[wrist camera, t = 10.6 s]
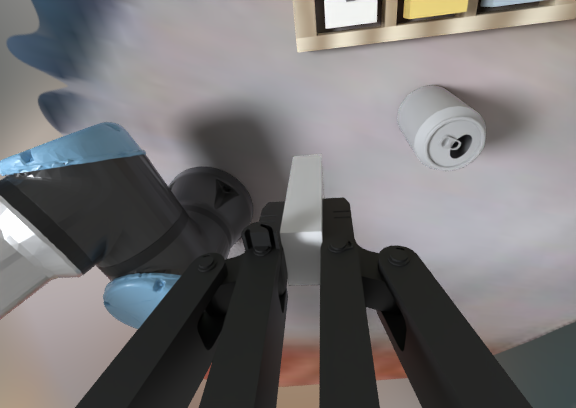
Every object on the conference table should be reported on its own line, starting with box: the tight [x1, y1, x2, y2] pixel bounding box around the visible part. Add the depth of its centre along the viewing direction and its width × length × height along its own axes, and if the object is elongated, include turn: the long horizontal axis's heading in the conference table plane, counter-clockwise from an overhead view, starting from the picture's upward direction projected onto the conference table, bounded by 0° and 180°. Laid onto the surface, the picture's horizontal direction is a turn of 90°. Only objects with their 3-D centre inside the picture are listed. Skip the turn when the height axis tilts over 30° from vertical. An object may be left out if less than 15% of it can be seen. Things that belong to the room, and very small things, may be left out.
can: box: [397, 85, 486, 171], centre depth 38 cm, size 8×8×12 cm
